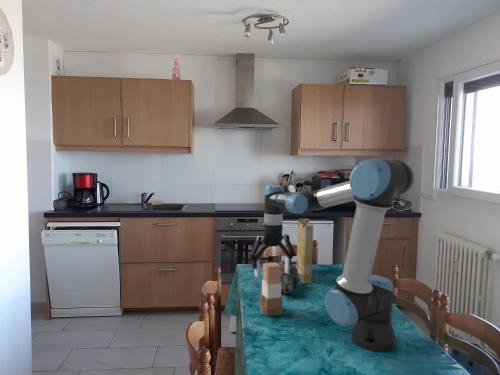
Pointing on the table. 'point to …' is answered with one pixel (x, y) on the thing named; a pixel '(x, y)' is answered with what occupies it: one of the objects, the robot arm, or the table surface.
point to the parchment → (304, 250)
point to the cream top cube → (271, 290)
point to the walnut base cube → (271, 305)
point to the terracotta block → (271, 273)
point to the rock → (288, 278)
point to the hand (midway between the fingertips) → (271, 274)
